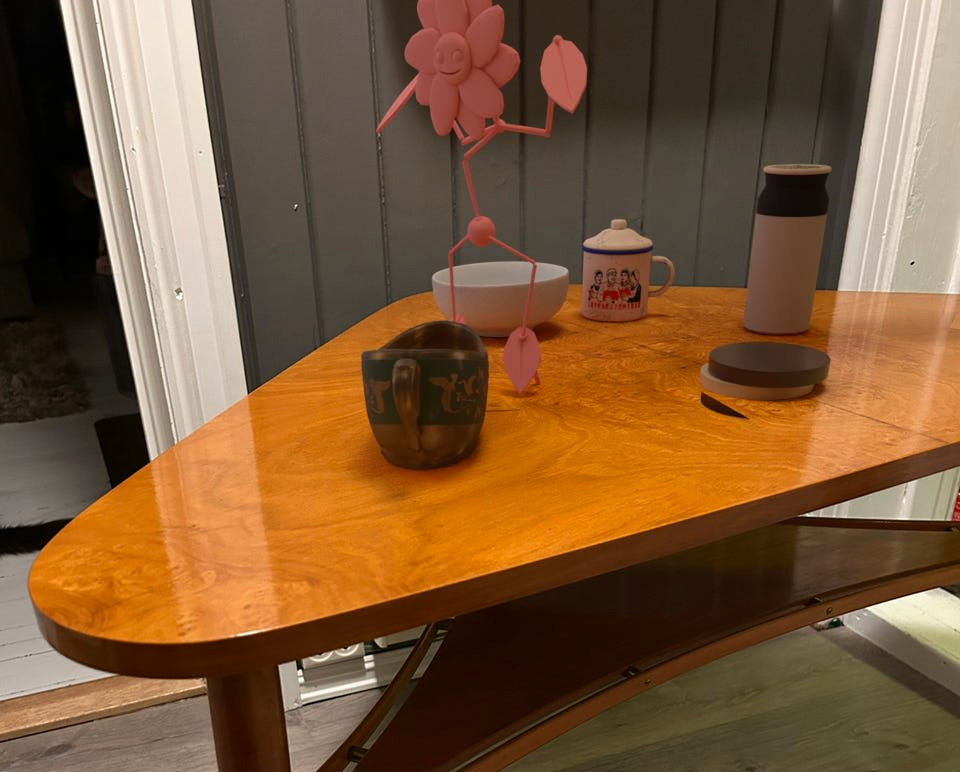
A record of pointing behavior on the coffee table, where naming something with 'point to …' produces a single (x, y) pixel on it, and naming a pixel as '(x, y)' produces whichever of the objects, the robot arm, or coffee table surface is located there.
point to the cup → (427, 394)
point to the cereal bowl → (501, 295)
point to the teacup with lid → (619, 274)
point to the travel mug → (786, 249)
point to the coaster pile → (761, 372)
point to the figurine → (483, 115)
